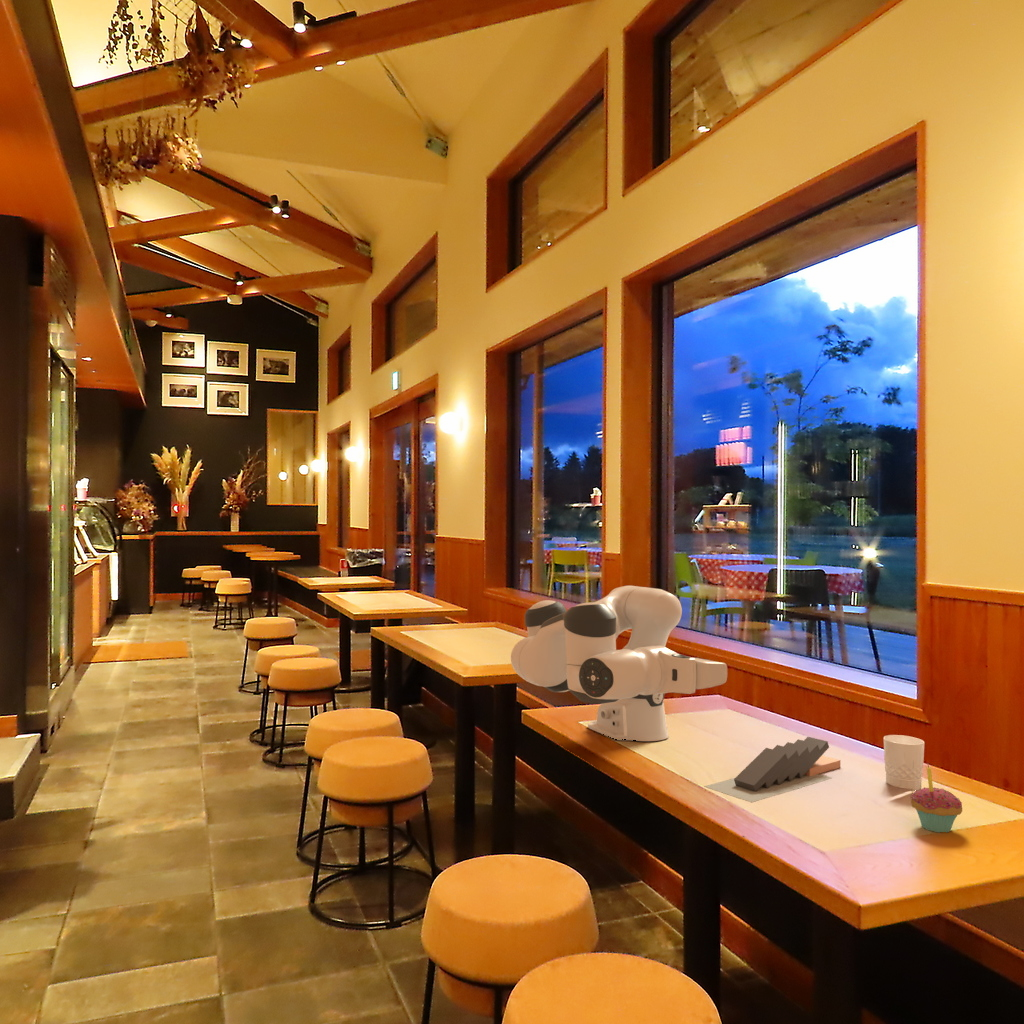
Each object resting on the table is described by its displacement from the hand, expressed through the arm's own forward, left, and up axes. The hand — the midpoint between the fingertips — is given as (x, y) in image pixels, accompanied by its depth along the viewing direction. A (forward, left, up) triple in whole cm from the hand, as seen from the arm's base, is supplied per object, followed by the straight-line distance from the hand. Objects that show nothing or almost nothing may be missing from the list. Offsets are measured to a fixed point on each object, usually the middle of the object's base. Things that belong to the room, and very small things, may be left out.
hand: (703, 663), depth 161 cm
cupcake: (+33, +26, -28) cm, 51 cm away
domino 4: (0, +25, -26) cm, 37 cm away
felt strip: (0, +22, -28) cm, 35 cm away
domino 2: (0, +17, -26) cm, 32 cm away
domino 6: (0, +33, -26) cm, 42 cm away
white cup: (+17, +45, -28) cm, 56 cm away
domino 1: (0, +13, -26) cm, 30 cm away
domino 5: (0, +29, -26) cm, 39 cm away
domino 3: (0, +21, -26) cm, 34 cm away
